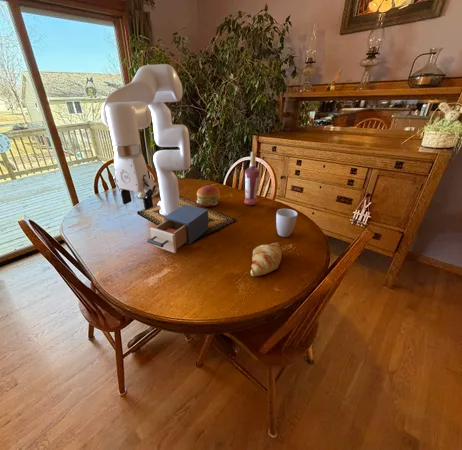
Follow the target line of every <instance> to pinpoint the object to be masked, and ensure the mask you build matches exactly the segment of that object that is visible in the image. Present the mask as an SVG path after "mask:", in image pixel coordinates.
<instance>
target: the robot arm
mask: <svg viewBox="0 0 462 450" xmlns="http://www.w3.org/2000/svg"><path fill="white" fill-rule="evenodd" d="M183 93H184V91H183V84H182V82H181V80H180V77H179V75H178V73H177V71H176V70H175V68H174V67H173V66H172V65H170V64H168V63H160V64H159V63H158V64H157V63H156V64H146V65H142V66H140V67H138V70H137V71H136V73H135V75H134V77H133V78H132V80H131V81H130V82H129V83H126V84H125V85H123V86H121V87H119V88H117V89H115V90H114V91H112V92H111V93H109V94H108V95H107V97H106V99H105V101H104V102H103V104H102V107H101V119H102V121H103V124H104V125H105V126H106V127H107V128H108V129H109V133H110V137H111V141H112V146H113V152H114V156H113V167H114V173H115V175H114V176H113V178H112V179H113V181H114V182H115V185H116V187H117V188H118V192H119V193H120V196H121V200H122V204H123V205H128V204H129V203H131V202H132V195H131V192H134V193H135V192H136V193H138V192H139V191H140V192H141V193H142V194H143V196H144V198H142V201H143V207H144V210H146V211H149V210H150V209H151V208H153V207H154V201H153V197H152V195H153V193H154V192H155V187H156V188H157V183H156V182H155V181H154V180H152V179H151V178H150V177H149V171H148V167H147V164H146V160H145V157H144V155H143V151H142V144H141V139H140V132H139V130H144V129H147V128H148V127H149V126H150V125H151V123H152V129H153V138H154V142H155V145H156V146H158V147H161V148H176V147H178V148H179V149H161V150H157V151H155V153H154V154H153V160H152V161H153V164H154V168H155V171H156V176H157V181H158V188H159V189H160V191H159V196H160V200H158V203H157V204H156V206H157V207H160V209H159V214H160V215H161V216H163V217H165V216H166V215H168V214H170V213H171V212H173V211H175V210H176V209H178V208H180V207H181V206H182V205H181V203H180V202H181V201H180V190H179V181H178V176H177V175H176V174H175V171H187V170H189V169H190V168H191V163H192V162H191V161H192V159H191V144H190V133H189V129H188V127H187V125H184V124H178V123H177V124H173V119H172V111H171V110H170V109H169V107H168V106H167V105H166V103H177V102H180V101H181V100H182V99H183ZM153 181H154V182H153ZM145 189H146V190H147V193H146V192H145Z"/></svg>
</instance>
